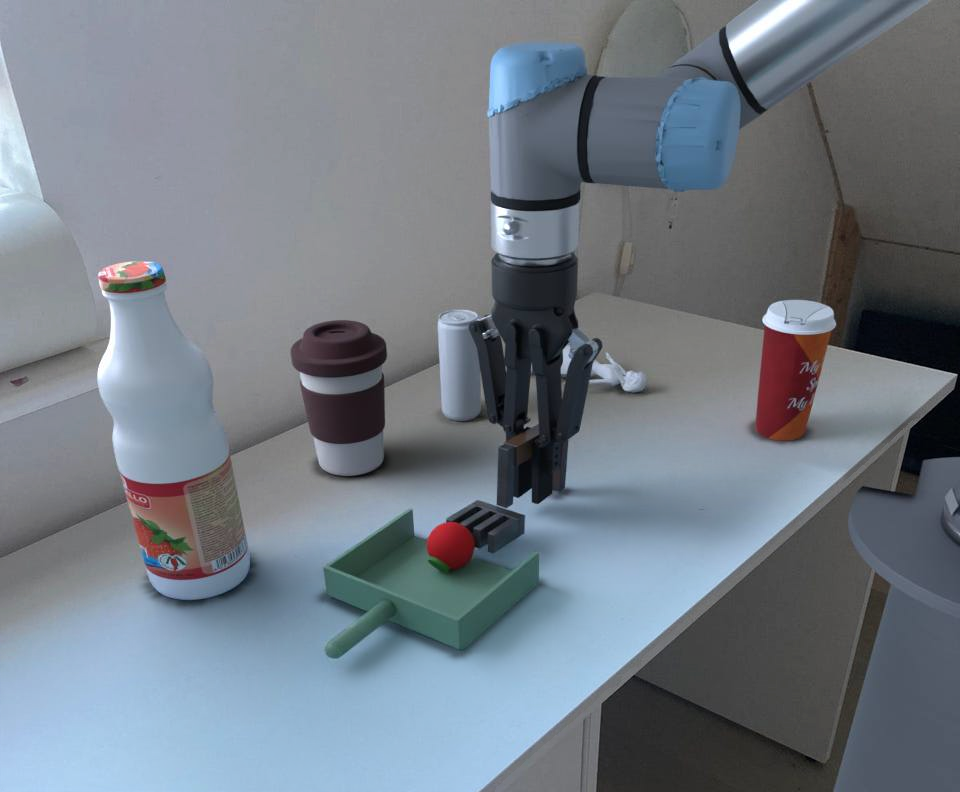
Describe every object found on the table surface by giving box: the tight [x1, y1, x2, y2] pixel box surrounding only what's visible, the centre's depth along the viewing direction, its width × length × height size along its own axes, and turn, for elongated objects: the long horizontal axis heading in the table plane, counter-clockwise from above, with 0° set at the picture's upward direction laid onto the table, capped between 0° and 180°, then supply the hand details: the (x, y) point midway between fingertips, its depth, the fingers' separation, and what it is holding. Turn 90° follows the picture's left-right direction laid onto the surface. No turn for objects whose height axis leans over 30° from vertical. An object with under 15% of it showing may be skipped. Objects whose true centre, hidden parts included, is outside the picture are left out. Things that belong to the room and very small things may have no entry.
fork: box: [445, 423, 570, 555], centre depth 95 cm, size 16×6×8 cm, turn 145°
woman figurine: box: [531, 344, 648, 394], centre depth 126 cm, size 12×4×18 cm
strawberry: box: [427, 521, 475, 573], centre depth 90 cm, size 4×4×4 cm
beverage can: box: [437, 309, 482, 422], centre depth 115 cm, size 5×5×12 cm
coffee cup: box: [290, 319, 388, 477], centre depth 105 cm, size 10×10×15 cm
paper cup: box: [755, 299, 837, 442], centre depth 109 cm, size 8×8×14 cm
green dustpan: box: [322, 507, 540, 660], centre depth 85 cm, size 20×15×3 cm
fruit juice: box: [96, 260, 251, 601], centre depth 84 cm, size 9×9×28 cm
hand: (532, 494), depth 99 cm, fingers closed on fork, 2 cm apart
